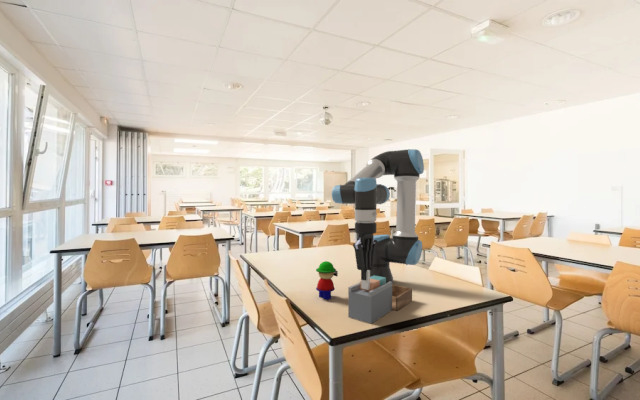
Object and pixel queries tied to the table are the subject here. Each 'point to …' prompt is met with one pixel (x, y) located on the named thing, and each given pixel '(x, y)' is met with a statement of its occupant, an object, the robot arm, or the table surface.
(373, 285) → the salmon pink square block
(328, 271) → the toy
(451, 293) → the table surface
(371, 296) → the grey stepped block
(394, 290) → the crate
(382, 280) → the teal square block
